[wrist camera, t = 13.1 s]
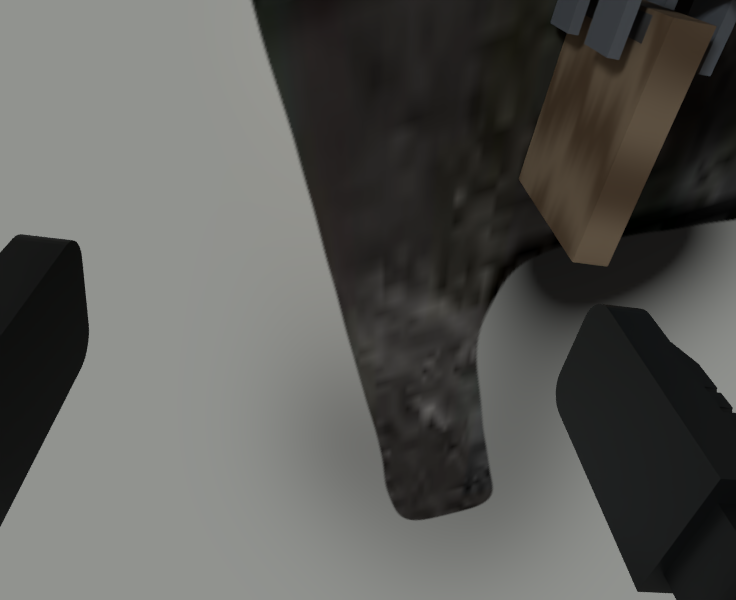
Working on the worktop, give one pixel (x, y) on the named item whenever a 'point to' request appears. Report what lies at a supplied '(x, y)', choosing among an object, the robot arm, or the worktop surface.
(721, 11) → the slate cabinet
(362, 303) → the worktop surface
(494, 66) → the worktop surface
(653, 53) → the walnut door
